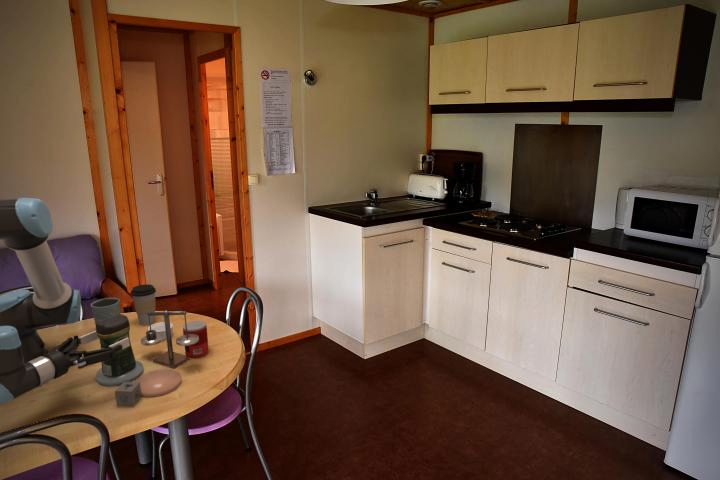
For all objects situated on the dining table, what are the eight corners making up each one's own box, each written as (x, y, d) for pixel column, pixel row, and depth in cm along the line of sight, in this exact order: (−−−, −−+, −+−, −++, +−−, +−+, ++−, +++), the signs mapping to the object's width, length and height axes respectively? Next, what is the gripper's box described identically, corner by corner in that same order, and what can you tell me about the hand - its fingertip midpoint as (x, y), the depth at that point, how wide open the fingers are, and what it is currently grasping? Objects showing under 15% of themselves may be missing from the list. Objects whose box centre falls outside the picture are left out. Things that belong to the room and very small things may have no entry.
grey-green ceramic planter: (99, 338, 185) (94, 309, 182) (91, 330, 193) (87, 301, 189) (127, 330, 192) (123, 302, 189) (118, 322, 199) (115, 295, 196)
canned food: (213, 350, 176) (210, 322, 173) (197, 360, 169) (194, 331, 166) (197, 346, 179) (194, 318, 176) (180, 356, 172) (177, 327, 169)
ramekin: (155, 331, 191) (154, 321, 190) (177, 332, 191) (176, 321, 190) (144, 342, 183) (143, 331, 181) (168, 342, 182) (167, 331, 181)
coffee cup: (150, 328, 194) (146, 292, 190) (129, 326, 196) (124, 290, 192) (164, 318, 203) (160, 284, 199) (143, 316, 205) (139, 282, 201)
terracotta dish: (123, 390, 151) (122, 386, 150) (159, 369, 163) (159, 365, 162) (155, 401, 145) (155, 397, 144) (191, 379, 157) (190, 375, 156)
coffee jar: (126, 361, 166) (119, 310, 161) (140, 367, 161) (133, 315, 157) (98, 373, 158) (89, 320, 153) (112, 380, 153) (103, 326, 149)
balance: (138, 357, 171) (131, 304, 166) (154, 349, 177) (148, 297, 172) (190, 373, 160) (184, 317, 155) (205, 364, 166) (200, 309, 161)
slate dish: (86, 379, 157) (85, 375, 156) (124, 360, 169) (123, 356, 169) (116, 390, 151) (115, 386, 150) (153, 369, 163) (152, 365, 162)
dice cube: (141, 397, 147) (139, 382, 146) (133, 406, 143) (131, 391, 141) (125, 396, 148) (123, 381, 146) (116, 406, 143) (114, 391, 142)
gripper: (22, 370, 143) (89, 340, 162) (78, 390, 133) (142, 356, 151) (18, 346, 142) (86, 319, 160) (74, 365, 131) (140, 334, 149)
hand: (113, 337), depth 156 cm, fingers open, 13 cm apart
